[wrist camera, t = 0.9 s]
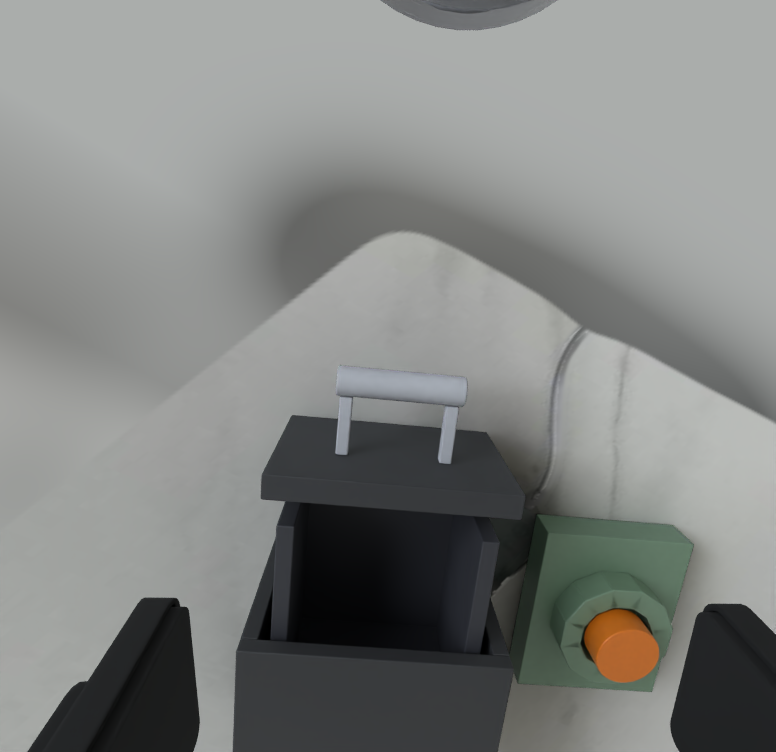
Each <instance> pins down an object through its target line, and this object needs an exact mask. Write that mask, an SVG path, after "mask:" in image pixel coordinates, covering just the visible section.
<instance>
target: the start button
mask: <svg viewBox="0 0 776 752" xmlns="http://www.w3.org/2000/svg"><path fill="white" fill-rule="evenodd" d="M584 641H585V645H586V647H587V649H588V651H589V653H590V655H591V657H592V659H593V661H594V662H595V664H596V666H597V668H598V670H599V671H600V673H601V674H602V675H603V676H604V677H606V678H607V679H609V680H611V681H614V682H620V683H627V682H633V681H636V680H639V679H641V678H643V677H645V676H646V675H647V674H649V673H650V672H651V671H652V670H653V669H654V667H655V666H656V664H657V662H658V659H659V647H658V644H657V641H656V640H655V639H654V637H653V636H652V634H651V633H650V632H649V630H648V629H647V627H646V626H645V625H644V623H643V622H642V621H641V619H640V618H639V617H638V616H637V615H636V614H634V613H632V612H631V611H628V610H624V609H611V610H607V611H605V612H602V613H600V614H598V615H597V616H596V617H594V618H593V619H592V620H591V621H590V623H589V624H588V626H587V628H586V630H585V634H584Z"/></svg>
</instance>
